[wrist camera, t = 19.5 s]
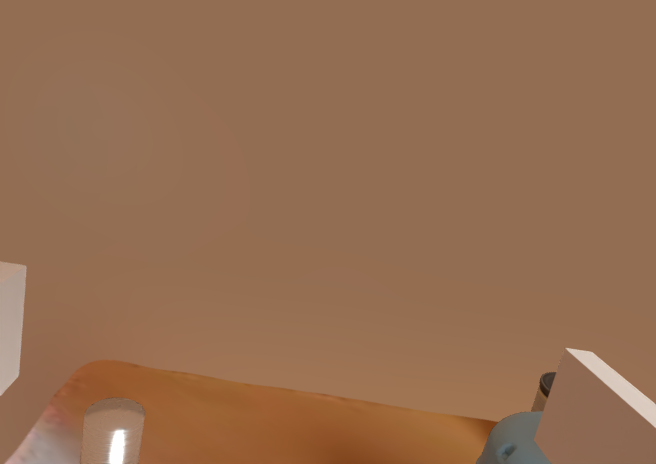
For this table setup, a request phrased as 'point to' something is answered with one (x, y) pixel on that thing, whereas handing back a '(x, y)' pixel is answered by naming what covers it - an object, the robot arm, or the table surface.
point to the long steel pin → (112, 432)
